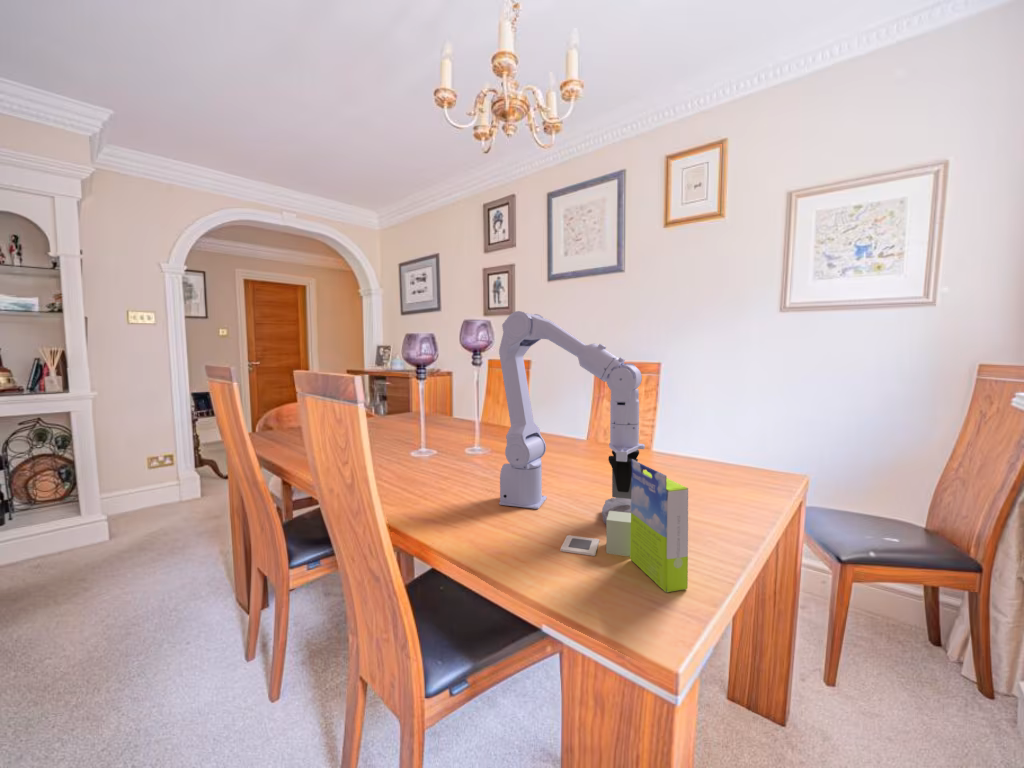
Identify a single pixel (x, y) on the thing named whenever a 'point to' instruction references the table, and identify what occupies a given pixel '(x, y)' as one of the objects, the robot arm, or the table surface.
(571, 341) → the robot arm
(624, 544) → the sage block
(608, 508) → the stone block
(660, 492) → the box
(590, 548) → the card
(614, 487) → the charcoal block
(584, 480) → the table surface
